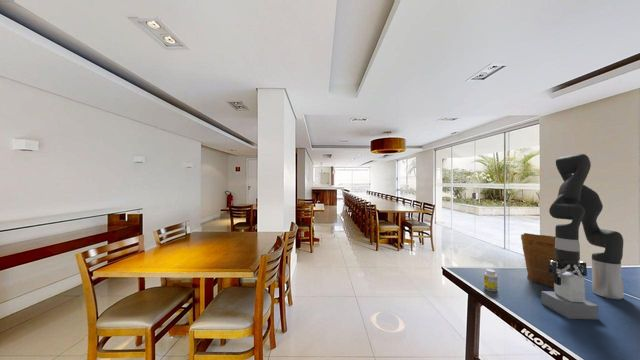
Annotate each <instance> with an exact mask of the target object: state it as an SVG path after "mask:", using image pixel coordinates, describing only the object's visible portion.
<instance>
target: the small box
mask: <svg viewBox="0 0 640 360" xmlns="http://www.w3.org/2000/svg"><path fill="white" fill-rule="evenodd" d="M558 273H559V272H558ZM558 273H557V274H558ZM560 277H561V285H557V284H555V283H554V288H553V290H554V293H555V294H557V295H559V296H561V297H563V298H565V299H567V300H569V301H571V302H585V300H586V289H585V278H584V277H580V276H577V275H575V274H573V273H572V272H570V271H569V272H565V273H563V274H562V275H561V276H560Z"/></svg>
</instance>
